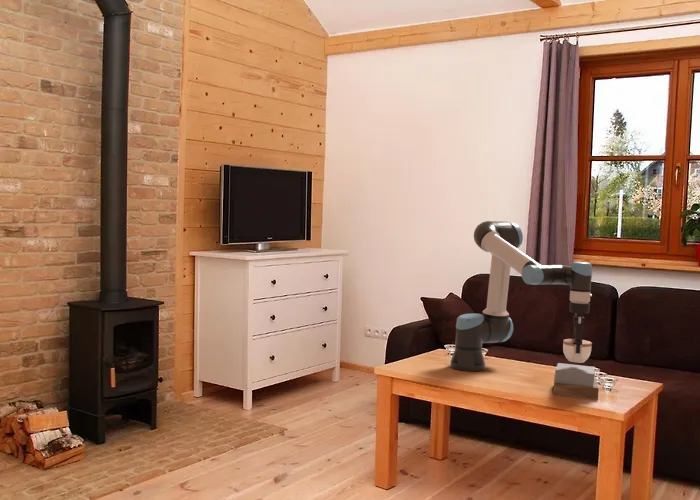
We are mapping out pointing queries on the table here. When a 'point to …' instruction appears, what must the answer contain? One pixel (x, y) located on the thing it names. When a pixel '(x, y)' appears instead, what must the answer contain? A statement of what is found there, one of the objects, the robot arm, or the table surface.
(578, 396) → the tower base
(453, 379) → the table surface
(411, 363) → the table surface
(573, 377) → the grey square slab
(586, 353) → the lidded jar
